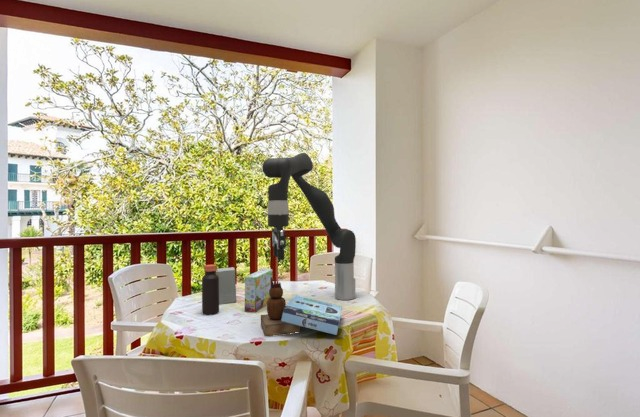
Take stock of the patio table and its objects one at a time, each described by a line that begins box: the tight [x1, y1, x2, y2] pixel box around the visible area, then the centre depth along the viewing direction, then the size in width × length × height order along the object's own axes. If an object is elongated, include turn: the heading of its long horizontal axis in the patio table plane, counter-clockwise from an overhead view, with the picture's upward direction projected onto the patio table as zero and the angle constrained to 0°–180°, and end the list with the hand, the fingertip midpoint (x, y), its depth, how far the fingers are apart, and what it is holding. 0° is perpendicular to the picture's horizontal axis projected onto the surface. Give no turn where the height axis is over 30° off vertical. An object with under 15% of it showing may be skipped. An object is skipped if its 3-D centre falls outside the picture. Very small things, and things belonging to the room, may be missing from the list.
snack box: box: [244, 268, 274, 313], centre depth 157 cm, size 21×6×15 cm, turn 168°
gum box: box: [281, 294, 343, 336], centre depth 127 cm, size 20×5×23 cm
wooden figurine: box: [266, 276, 287, 320], centre depth 125 cm, size 7×6×15 cm
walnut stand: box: [260, 313, 301, 337], centre depth 125 cm, size 12×12×4 cm
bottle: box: [201, 264, 220, 316], centre depth 146 cm, size 7×7×20 cm
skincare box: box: [216, 266, 237, 305], centre depth 163 cm, size 8×7×16 cm
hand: (278, 258), depth 125 cm, fingers open, 8 cm apart
